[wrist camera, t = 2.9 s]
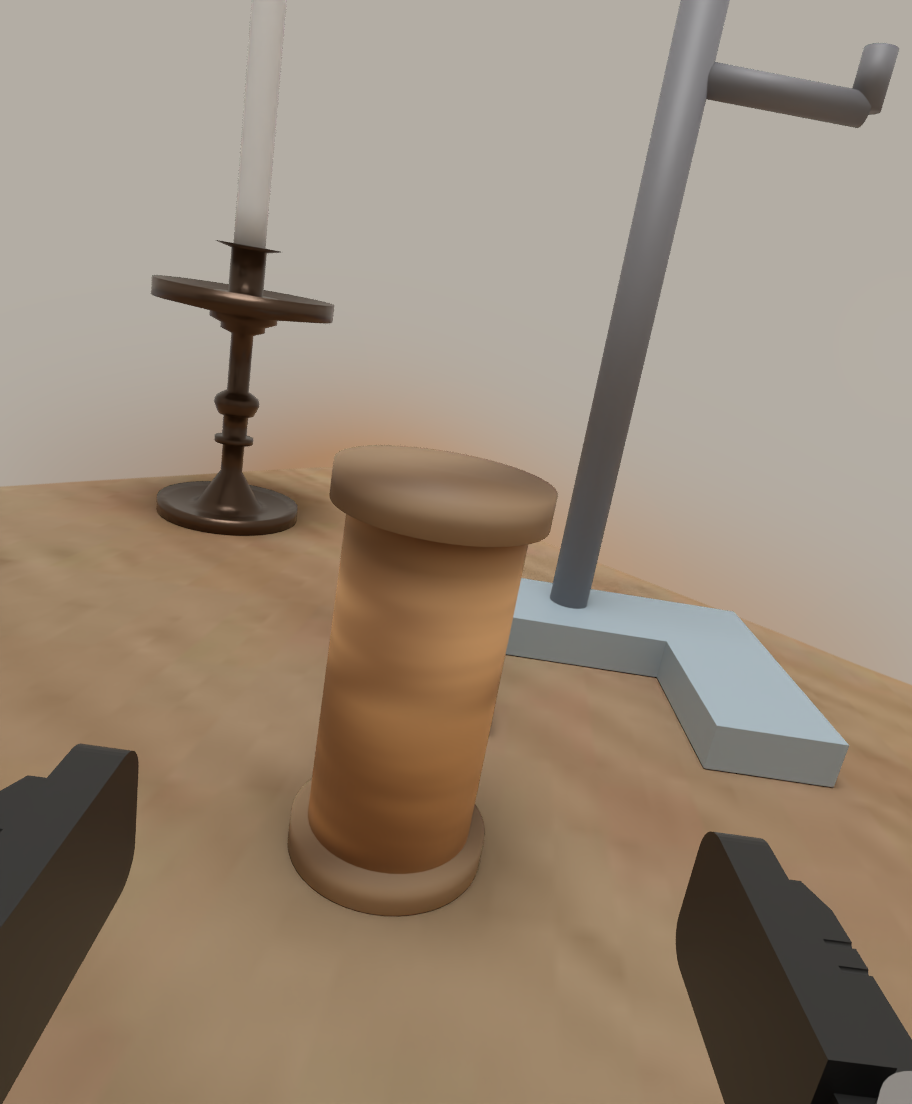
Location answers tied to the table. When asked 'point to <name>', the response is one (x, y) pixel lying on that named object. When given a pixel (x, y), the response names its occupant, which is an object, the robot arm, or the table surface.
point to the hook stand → (569, 602)
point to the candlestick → (243, 308)
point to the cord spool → (412, 673)
